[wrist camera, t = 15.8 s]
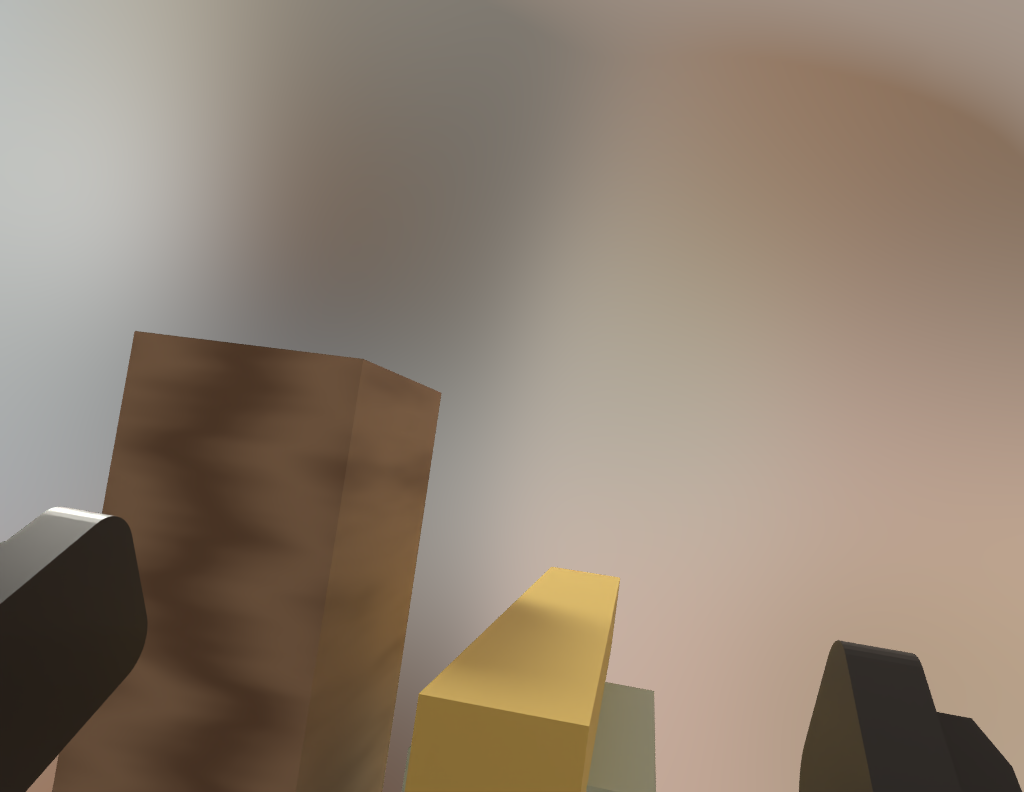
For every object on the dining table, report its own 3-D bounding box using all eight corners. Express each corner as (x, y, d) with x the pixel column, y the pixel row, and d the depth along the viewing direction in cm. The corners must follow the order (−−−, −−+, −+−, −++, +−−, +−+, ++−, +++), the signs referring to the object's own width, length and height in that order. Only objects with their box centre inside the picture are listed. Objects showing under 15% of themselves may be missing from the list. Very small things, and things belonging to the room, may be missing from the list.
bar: (392, 870, 17) (418, 693, 17) (542, 635, 42) (551, 566, 43) (565, 909, 16) (589, 726, 16) (611, 647, 42) (620, 577, 42)
